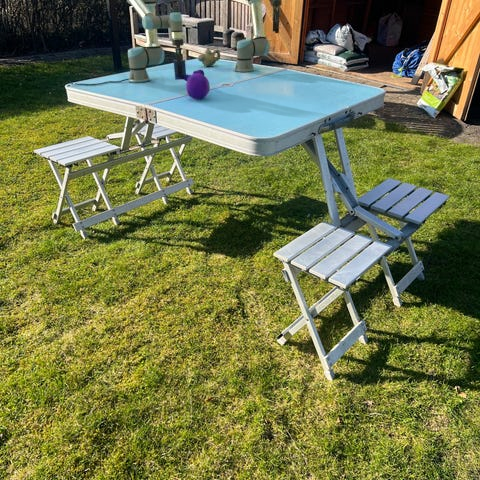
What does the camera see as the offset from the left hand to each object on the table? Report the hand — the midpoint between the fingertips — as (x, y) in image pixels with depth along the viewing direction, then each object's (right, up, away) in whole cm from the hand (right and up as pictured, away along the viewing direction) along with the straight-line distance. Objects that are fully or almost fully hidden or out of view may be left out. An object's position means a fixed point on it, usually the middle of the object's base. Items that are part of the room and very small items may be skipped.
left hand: (180, 75), depth 308 cm
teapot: (+14, +38, +82) cm, 91 cm away
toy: (+12, -21, -18) cm, 30 cm away
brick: (0, -2, +1) cm, 2 cm away
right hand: (+67, +39, +21) cm, 81 cm away
